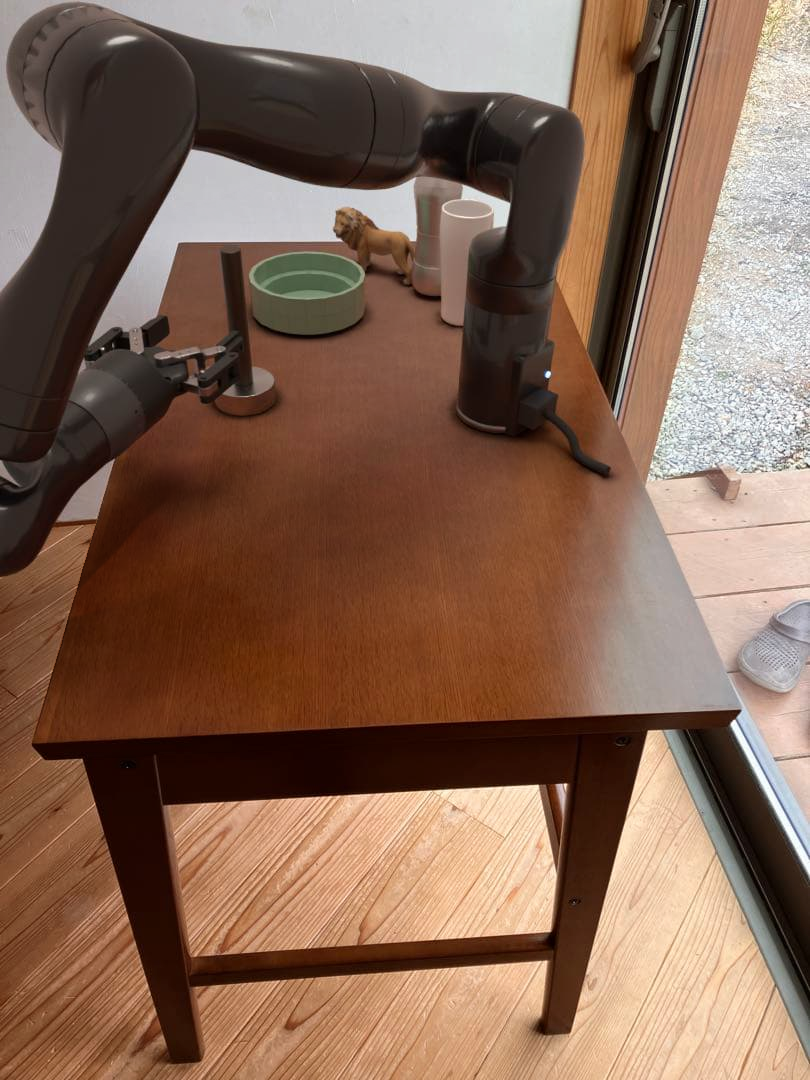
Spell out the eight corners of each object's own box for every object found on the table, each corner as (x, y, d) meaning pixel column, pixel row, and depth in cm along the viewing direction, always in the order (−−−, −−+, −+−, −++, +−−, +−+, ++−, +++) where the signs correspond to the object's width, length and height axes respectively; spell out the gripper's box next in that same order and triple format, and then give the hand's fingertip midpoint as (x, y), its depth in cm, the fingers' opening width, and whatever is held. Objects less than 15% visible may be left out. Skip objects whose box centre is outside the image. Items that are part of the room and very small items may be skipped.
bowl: (387, 312, 121) (388, 273, 118) (307, 350, 113) (306, 310, 109) (309, 279, 129) (308, 242, 125) (229, 313, 120) (225, 274, 116)
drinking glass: (426, 322, 119) (431, 211, 110) (448, 303, 124) (455, 195, 114) (472, 334, 117) (481, 221, 107) (492, 314, 122) (503, 204, 112)
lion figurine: (328, 272, 131) (326, 211, 125) (342, 259, 135) (341, 199, 129) (422, 289, 127) (424, 227, 122) (433, 275, 131) (436, 214, 126)
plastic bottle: (453, 304, 124) (463, 155, 111) (405, 298, 125) (410, 150, 112) (460, 285, 129) (470, 140, 116) (414, 280, 130) (420, 136, 117)
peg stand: (288, 399, 103) (278, 248, 92) (242, 422, 99) (225, 268, 88) (248, 378, 107) (233, 230, 95) (202, 400, 103) (181, 248, 91)
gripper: (169, 388, 74) (261, 309, 86) (29, 355, 78) (135, 284, 90) (182, 461, 79) (267, 377, 91) (49, 427, 83) (147, 350, 94)
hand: (201, 331), depth 90 cm, fingers open, 8 cm apart
